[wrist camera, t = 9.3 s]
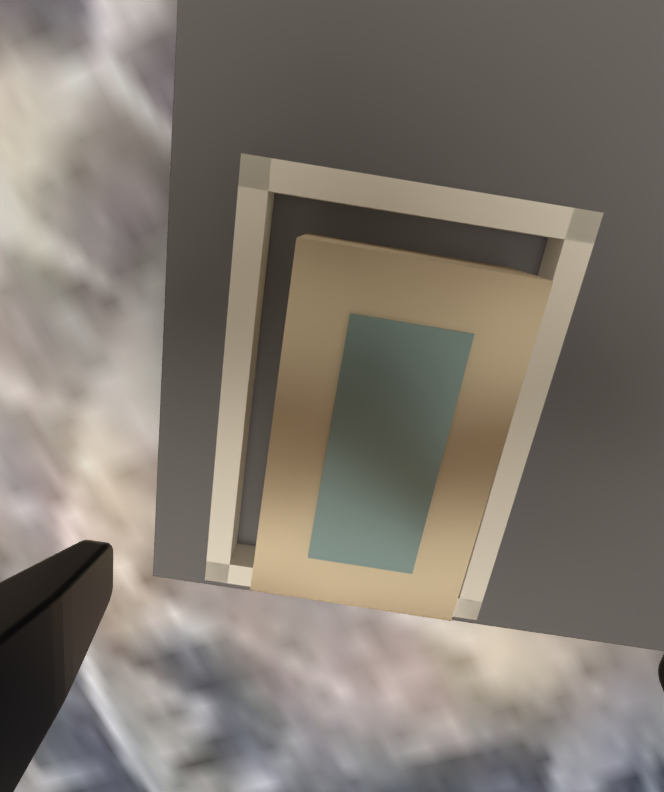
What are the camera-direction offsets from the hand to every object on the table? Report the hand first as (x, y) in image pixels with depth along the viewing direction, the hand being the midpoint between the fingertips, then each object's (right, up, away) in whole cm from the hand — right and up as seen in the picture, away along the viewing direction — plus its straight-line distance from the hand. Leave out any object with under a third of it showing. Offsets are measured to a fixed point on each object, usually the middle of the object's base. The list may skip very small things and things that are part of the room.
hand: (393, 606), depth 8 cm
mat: (+6, +5, +8) cm, 11 cm away
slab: (+1, +3, +9) cm, 9 cm away
